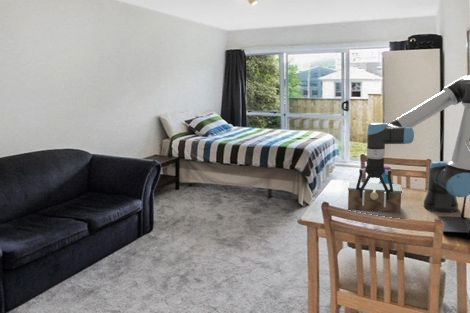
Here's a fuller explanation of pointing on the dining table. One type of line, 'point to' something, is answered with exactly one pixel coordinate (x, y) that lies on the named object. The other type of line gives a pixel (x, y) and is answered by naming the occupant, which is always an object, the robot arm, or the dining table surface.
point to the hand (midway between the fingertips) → (373, 205)
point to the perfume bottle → (386, 175)
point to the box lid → (375, 188)
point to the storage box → (374, 202)
